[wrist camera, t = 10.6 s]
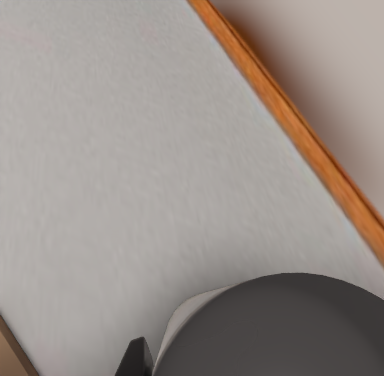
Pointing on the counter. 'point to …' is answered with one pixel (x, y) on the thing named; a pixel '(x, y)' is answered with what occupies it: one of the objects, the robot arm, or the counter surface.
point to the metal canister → (276, 330)
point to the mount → (13, 355)
